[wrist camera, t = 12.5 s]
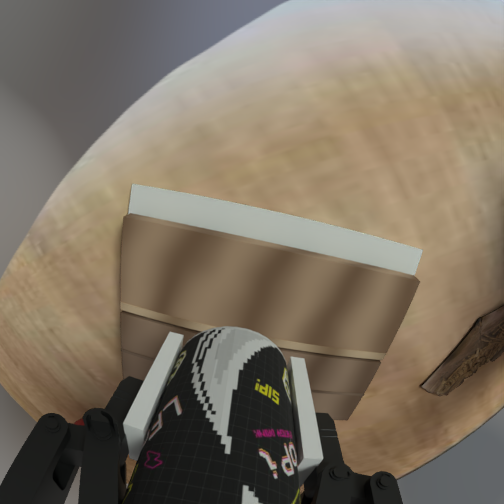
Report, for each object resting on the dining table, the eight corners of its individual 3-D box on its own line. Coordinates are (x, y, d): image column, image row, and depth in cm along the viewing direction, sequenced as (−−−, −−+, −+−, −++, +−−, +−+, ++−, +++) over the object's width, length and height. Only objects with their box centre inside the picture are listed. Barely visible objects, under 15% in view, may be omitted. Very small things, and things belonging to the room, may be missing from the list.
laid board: (376, 354, 27) (381, 363, 25) (345, 411, 29) (347, 420, 27) (126, 305, 26) (120, 313, 24) (128, 371, 28) (123, 380, 27)
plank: (413, 275, 23) (420, 281, 22) (378, 351, 26) (382, 360, 25) (130, 213, 23) (123, 216, 21) (126, 302, 26) (120, 310, 24)
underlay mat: (421, 249, 24) (422, 250, 23) (350, 405, 29) (351, 407, 29) (133, 183, 23) (132, 183, 23) (125, 364, 28) (124, 365, 28)
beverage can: (206, 299, 14) (112, 556, 2) (306, 346, 14) (351, 577, 3) (168, 373, 15) (98, 557, 4) (254, 410, 16) (247, 591, 4)
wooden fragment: (422, 407, 30) (425, 411, 29) (412, 359, 28) (416, 364, 26) (539, 313, 26) (542, 316, 25) (540, 256, 23) (545, 258, 22)
